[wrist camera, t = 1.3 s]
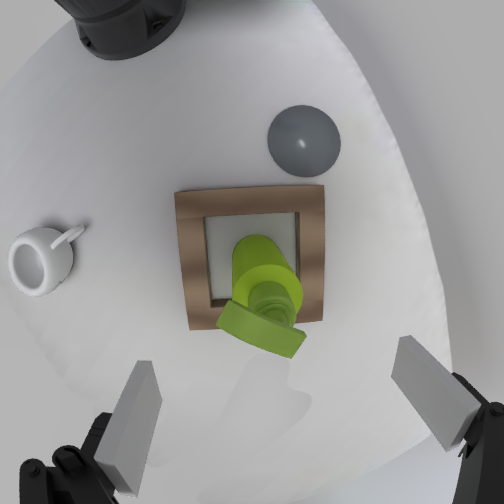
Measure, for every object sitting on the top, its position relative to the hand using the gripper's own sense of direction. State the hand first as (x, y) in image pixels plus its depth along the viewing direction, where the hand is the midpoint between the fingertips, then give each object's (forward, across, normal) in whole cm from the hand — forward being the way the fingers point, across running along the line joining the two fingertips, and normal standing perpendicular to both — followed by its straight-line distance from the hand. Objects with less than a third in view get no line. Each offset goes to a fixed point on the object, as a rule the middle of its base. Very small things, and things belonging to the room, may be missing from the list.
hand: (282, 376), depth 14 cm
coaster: (+23, +7, +14) cm, 28 cm away
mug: (+24, -26, +3) cm, 35 cm away
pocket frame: (+24, 0, 0) cm, 24 cm away
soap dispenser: (+24, 0, 0) cm, 24 cm away
